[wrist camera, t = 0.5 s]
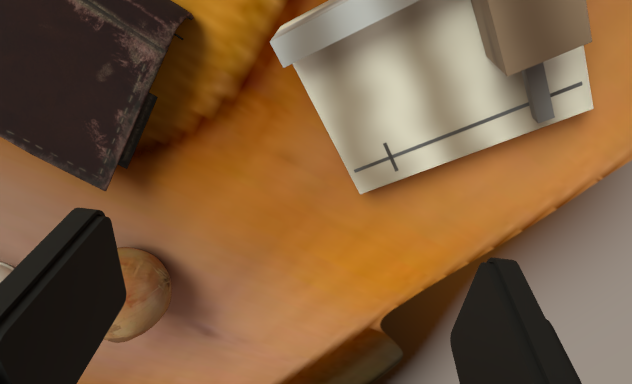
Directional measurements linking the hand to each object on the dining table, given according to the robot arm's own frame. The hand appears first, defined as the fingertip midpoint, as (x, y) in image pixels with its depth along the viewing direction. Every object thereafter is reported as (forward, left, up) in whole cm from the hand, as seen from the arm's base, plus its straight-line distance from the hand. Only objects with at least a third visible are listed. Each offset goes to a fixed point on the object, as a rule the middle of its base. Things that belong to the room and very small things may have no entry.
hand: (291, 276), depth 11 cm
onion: (+31, +13, -28) cm, 44 cm away
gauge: (-13, +6, -24) cm, 28 cm away
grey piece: (-7, +5, -27) cm, 29 cm away
